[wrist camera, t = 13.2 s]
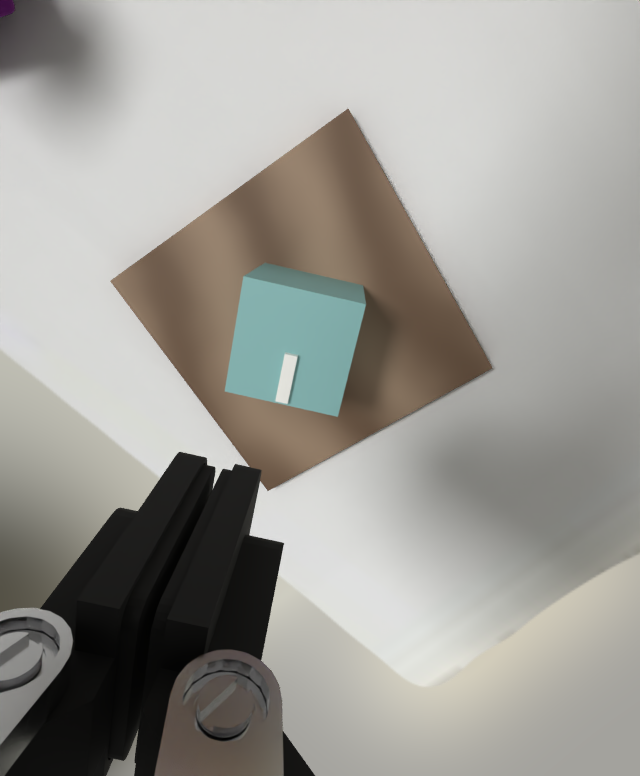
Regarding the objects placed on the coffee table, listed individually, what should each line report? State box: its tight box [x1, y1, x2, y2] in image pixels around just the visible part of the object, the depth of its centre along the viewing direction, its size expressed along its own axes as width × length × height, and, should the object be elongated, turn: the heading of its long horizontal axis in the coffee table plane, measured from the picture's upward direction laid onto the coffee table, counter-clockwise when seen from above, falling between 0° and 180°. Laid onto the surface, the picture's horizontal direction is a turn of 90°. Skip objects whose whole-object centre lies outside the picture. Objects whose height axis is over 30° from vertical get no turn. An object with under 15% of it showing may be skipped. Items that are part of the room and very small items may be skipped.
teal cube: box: [225, 263, 366, 417], centre depth 26 cm, size 6×6×6 cm
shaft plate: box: [111, 109, 492, 491], centre depth 28 cm, size 16×16×4 cm
